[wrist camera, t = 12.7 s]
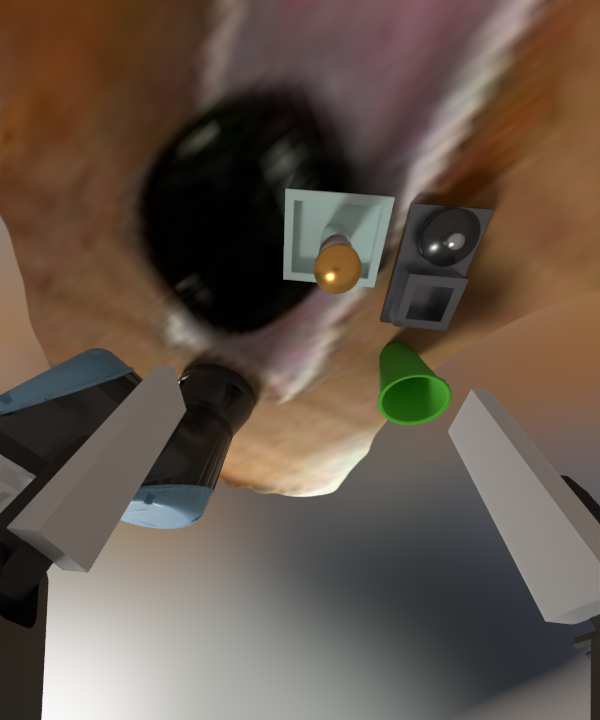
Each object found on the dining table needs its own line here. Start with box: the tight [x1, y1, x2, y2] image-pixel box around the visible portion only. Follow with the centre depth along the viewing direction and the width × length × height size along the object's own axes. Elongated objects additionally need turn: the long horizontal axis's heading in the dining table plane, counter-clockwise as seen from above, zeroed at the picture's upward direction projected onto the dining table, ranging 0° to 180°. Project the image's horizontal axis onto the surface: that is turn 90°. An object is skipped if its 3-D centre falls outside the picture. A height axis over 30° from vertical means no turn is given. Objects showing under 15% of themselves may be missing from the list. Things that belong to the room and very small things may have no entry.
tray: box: [283, 188, 395, 287], centre depth 32 cm, size 12×10×2 cm
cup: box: [378, 342, 451, 425], centre depth 37 cm, size 9×9×11 cm
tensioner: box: [380, 203, 493, 331], centre depth 32 cm, size 9×15×5 cm, turn 177°
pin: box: [314, 224, 362, 294], centre depth 26 cm, size 4×4×14 cm
